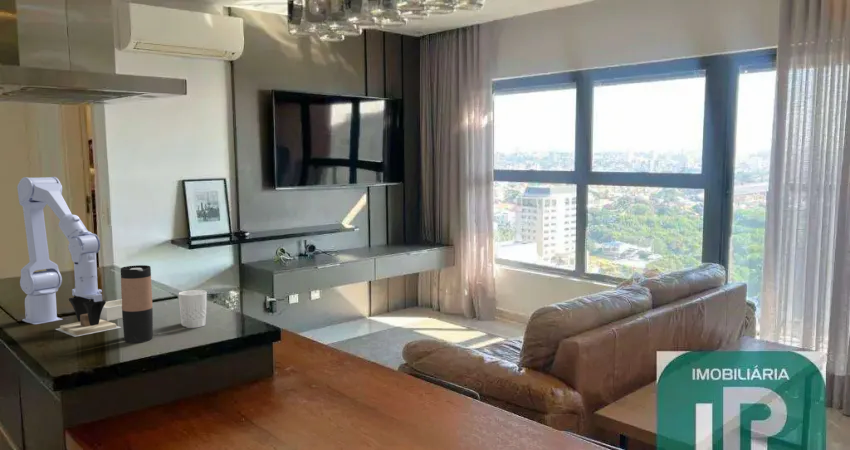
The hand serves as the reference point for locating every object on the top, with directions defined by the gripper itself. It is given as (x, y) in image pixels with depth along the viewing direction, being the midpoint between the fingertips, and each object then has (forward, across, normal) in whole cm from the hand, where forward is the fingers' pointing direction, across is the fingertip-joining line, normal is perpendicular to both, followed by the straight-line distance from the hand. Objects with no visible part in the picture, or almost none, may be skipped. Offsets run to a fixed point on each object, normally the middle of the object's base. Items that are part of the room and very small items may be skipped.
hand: (88, 322), depth 184 cm
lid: (+2, 0, 0) cm, 2 cm away
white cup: (+2, -19, -22) cm, 29 cm away
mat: (+2, 0, 0) cm, 2 cm away
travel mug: (+2, -21, -4) cm, 22 cm away
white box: (+2, +9, -12) cm, 15 cm away
